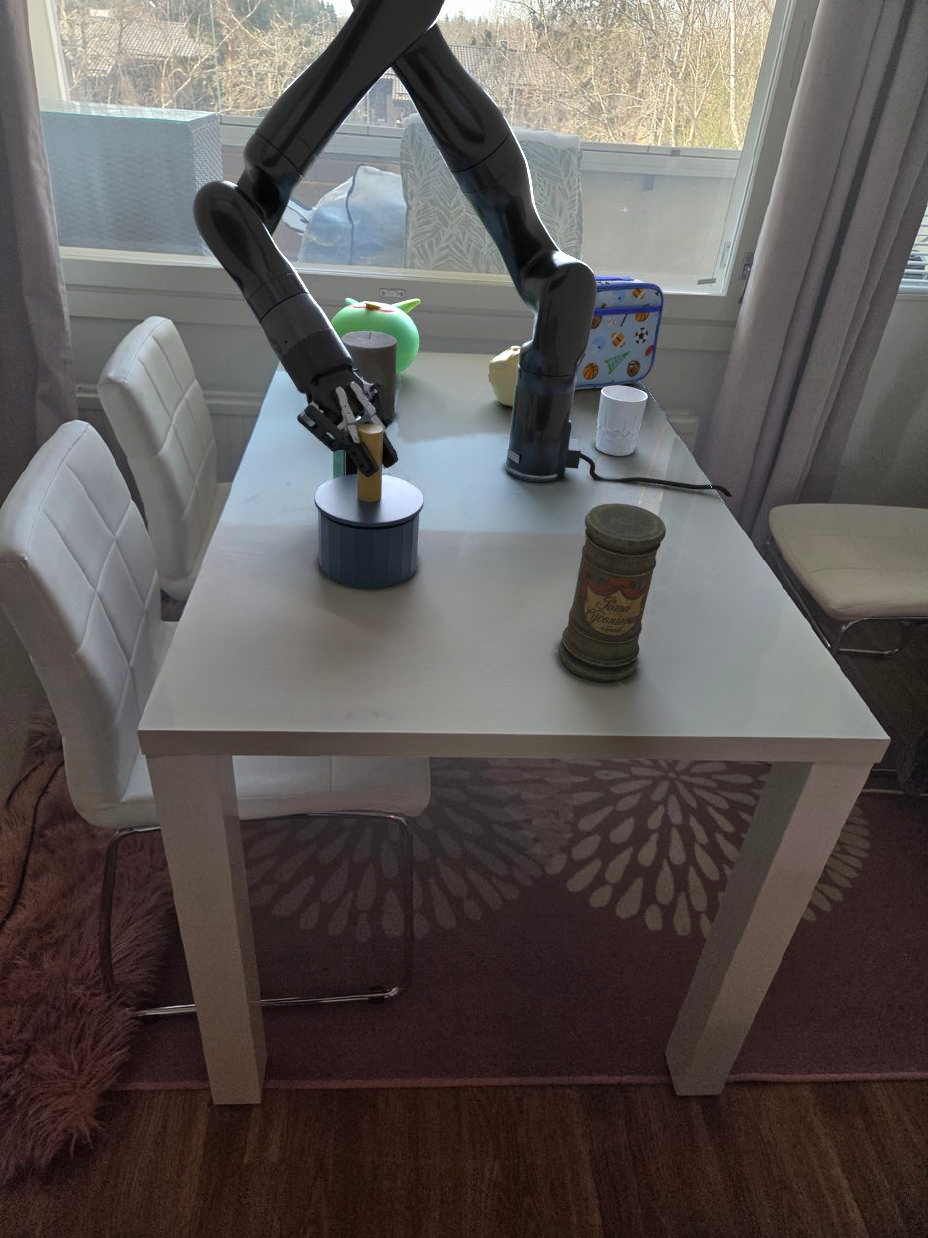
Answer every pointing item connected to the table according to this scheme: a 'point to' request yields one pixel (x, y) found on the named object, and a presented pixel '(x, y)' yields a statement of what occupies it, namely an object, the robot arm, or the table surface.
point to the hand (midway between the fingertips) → (382, 468)
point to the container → (611, 592)
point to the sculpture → (504, 375)
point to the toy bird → (382, 325)
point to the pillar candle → (375, 360)
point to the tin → (368, 552)
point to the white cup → (619, 419)
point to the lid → (369, 492)
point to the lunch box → (620, 333)
